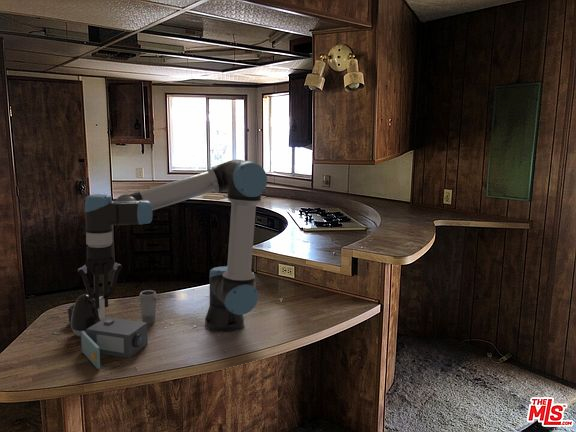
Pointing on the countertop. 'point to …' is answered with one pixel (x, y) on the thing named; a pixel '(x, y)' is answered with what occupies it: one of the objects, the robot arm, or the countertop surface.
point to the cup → (148, 306)
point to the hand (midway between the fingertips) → (101, 317)
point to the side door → (90, 349)
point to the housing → (119, 336)
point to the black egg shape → (84, 314)
